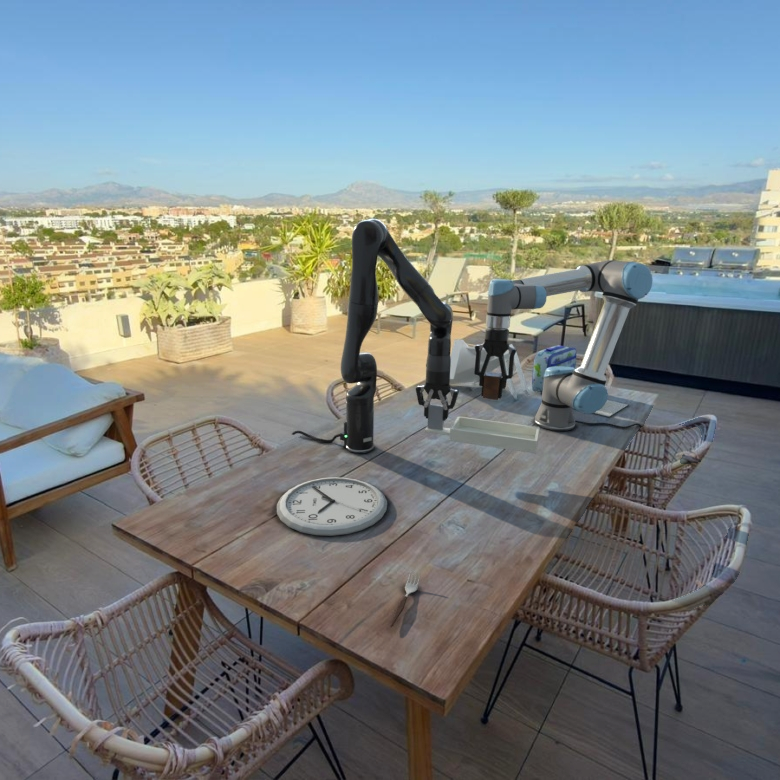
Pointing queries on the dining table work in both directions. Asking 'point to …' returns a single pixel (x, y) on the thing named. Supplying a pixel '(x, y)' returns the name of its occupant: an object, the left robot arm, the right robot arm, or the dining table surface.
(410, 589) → the fork
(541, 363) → the lunch box
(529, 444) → the tray
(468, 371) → the white plastic object
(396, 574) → the dining table surface
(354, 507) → the wall clock
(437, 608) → the dining table surface
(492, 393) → the walnut block
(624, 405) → the invitation card
